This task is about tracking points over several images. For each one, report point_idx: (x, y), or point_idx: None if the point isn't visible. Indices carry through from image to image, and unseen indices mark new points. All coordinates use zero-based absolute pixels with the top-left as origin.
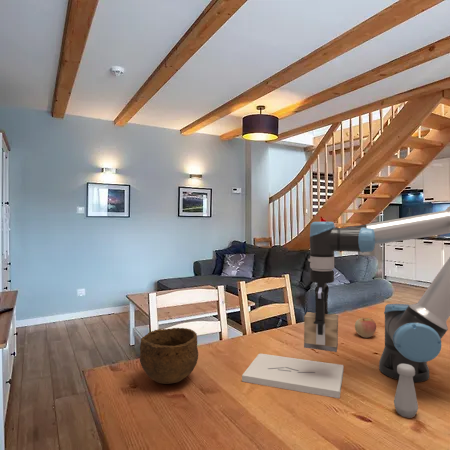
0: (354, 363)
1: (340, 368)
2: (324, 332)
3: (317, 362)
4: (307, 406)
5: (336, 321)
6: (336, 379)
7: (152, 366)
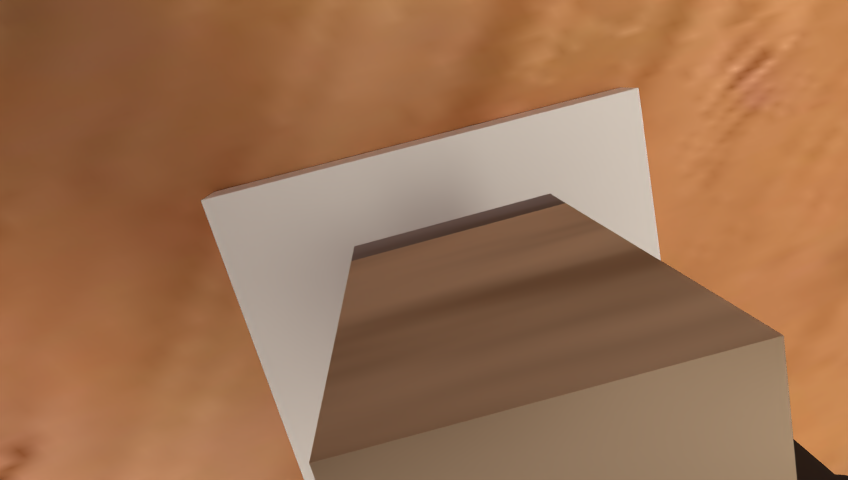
0: (18, 166)
1: (277, 199)
2: None
3: (280, 364)
4: (784, 206)
5: (764, 332)
6: (475, 162)
7: None
